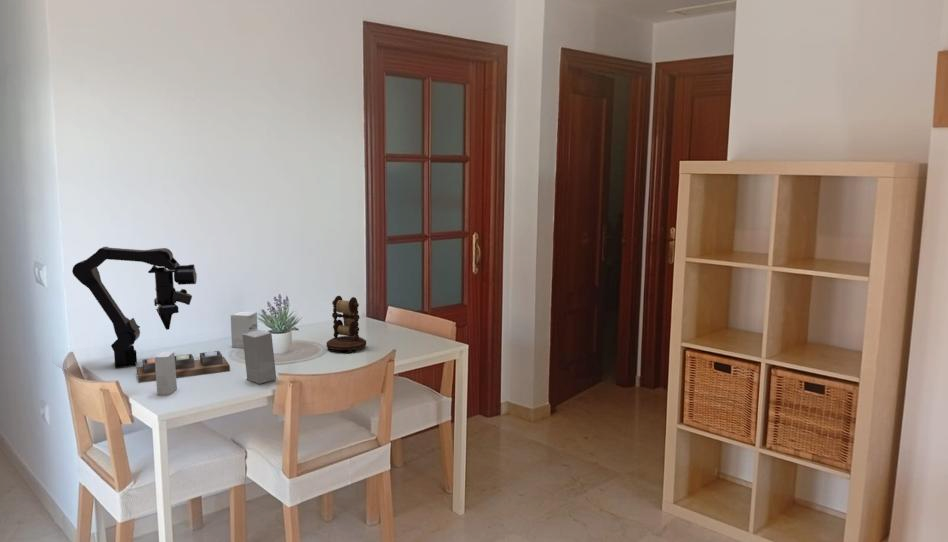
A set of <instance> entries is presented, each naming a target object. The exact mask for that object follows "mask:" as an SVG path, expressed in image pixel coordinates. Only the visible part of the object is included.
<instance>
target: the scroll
mask: <svg viewBox="0 0 948 542" xmlns="http://www.w3.org/2000/svg"><path fill="white" fill-rule="evenodd" d="M331 305H332V307H333V308H332V313H331V314H332V315H331V316H332V319H333V325H332V329H333V337H332V338H331V339H329V340H327V342H326V348H327V350H328V351H330V350H336V351H348V353H349V354H351V353H352V351H353V350H357V349H361V348H365V347H366V346H367V340H366V339H365V338H363V337H361V336H360V335H359V332H360V327H359V325H360V324H359V320H360V318H361V317H360V315H359V310H358V309H359V306H360V304H359V302H358V299H357V298H356V297H354V296H353V297H350V299H349V300H344V299H343V297H342V296H341V295H337V296H335V298H334V300H332V301H331ZM338 318H342V319H343V320H341V319H338Z"/></svg>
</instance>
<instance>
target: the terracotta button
mask: <svg viewBox="0 0 948 542" xmlns="http://www.w3.org/2000/svg"><path fill="white" fill-rule="evenodd" d="M147 359H148V360H147V364H148V363H155V358H154V357H151V358H147Z"/></svg>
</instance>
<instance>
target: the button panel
mask: <svg viewBox="0 0 948 542" xmlns="http://www.w3.org/2000/svg"><path fill="white" fill-rule="evenodd" d="M206 352H207V351H206ZM206 352H199V359H195V358H194V356H193V354H192V353H190V354H188V353H187V354H186V355H189V359H182V360H176V357H177V356H178V355H175V369H176V379H178V378H185V377H186V378H187V377H192V376H193V377H194V376H201V375H208V374H217V373H225V372H231V368H230V367H231V366H230V364H229V362H228V361H227V359H226V358H225V357H224V356H223V354H222V352H221V351H220V350H215V351H212V352H217V355H216V356H208V357H205V353H206ZM148 359H149V358H145V359H141V360H142V366H141V365H140V366H135V367H136V374H137V375H138V376H137V379H138V383H145V382H147V383H148V382H154V381H155V382H156V371H155V363H148V364H147V360H148Z"/></svg>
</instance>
